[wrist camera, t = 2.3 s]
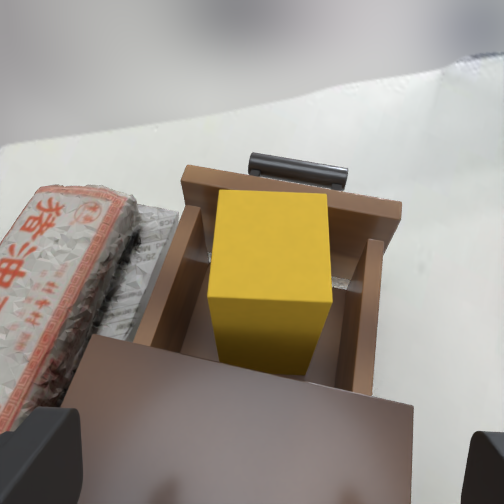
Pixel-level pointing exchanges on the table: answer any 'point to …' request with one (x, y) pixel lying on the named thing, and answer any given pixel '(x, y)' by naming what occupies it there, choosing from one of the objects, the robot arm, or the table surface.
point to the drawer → (341, 257)
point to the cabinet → (230, 434)
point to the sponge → (269, 279)
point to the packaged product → (72, 286)
